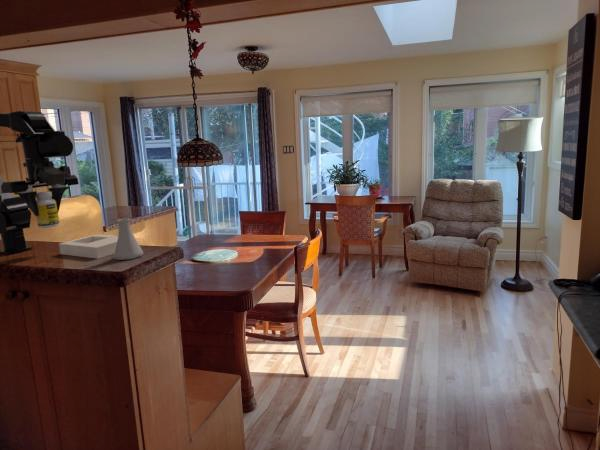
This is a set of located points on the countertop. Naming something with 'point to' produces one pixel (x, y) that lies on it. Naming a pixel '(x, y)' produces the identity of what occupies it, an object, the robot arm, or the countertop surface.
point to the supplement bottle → (47, 210)
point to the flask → (126, 242)
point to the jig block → (90, 246)
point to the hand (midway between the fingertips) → (47, 214)
